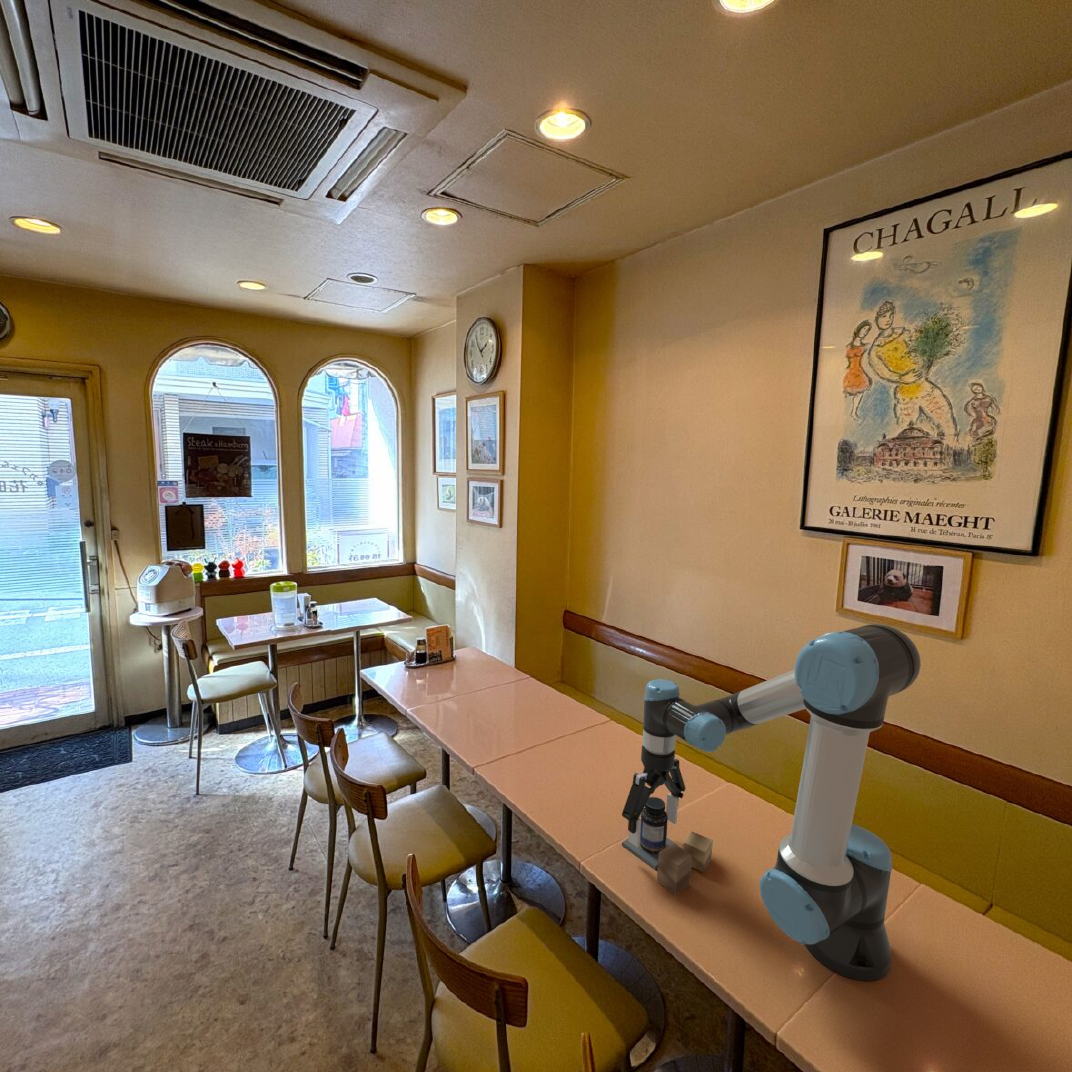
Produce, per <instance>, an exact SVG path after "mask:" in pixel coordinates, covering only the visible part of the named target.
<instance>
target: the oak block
mask: <svg viewBox="0 0 1072 1072" xmlns="http://www.w3.org/2000/svg"><path fill="white" fill-rule="evenodd" d="M713 841H714V840H713V839H711V838H709V837H706V836H704V835H702V834H699V833H697V832H694V831H690V833H689V834H688V836H687V837H686V839H685V840H684V842H683V847H682V848H683V850H685V851H686V852H688V853H689V854H691V855H692V864H691V868H694V869H697V870H699V871H700V872H705V870H706V869H707V867H708V866H709V865H710V862H711V861H712V855H713V843H714V842H713Z"/></svg>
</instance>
